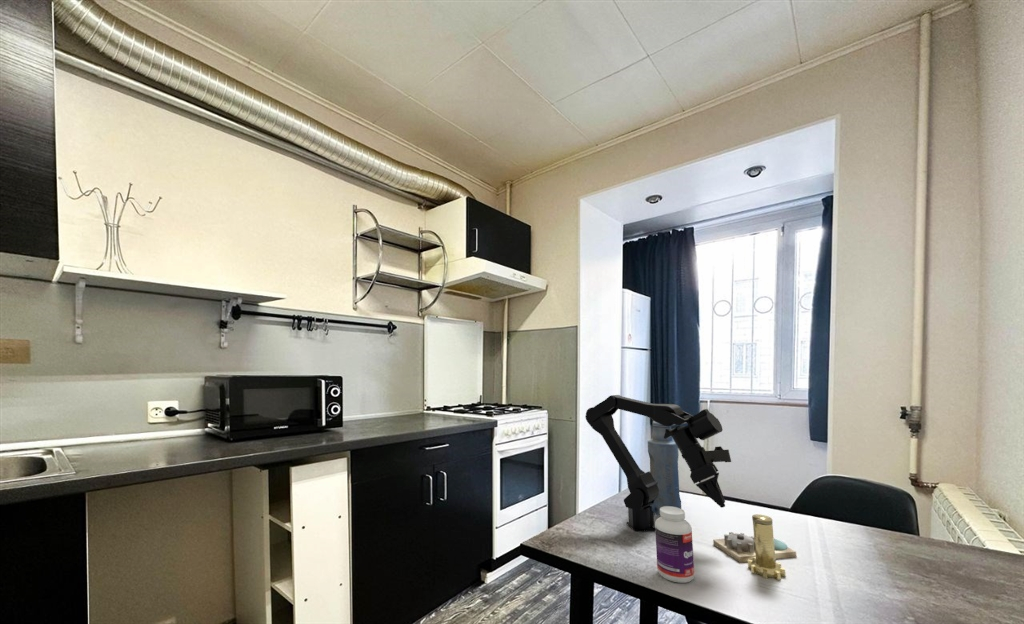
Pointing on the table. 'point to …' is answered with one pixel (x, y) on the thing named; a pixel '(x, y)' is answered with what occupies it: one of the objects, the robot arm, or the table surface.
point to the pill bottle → (674, 545)
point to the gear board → (749, 547)
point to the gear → (764, 549)
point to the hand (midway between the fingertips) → (723, 504)
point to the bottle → (664, 468)
